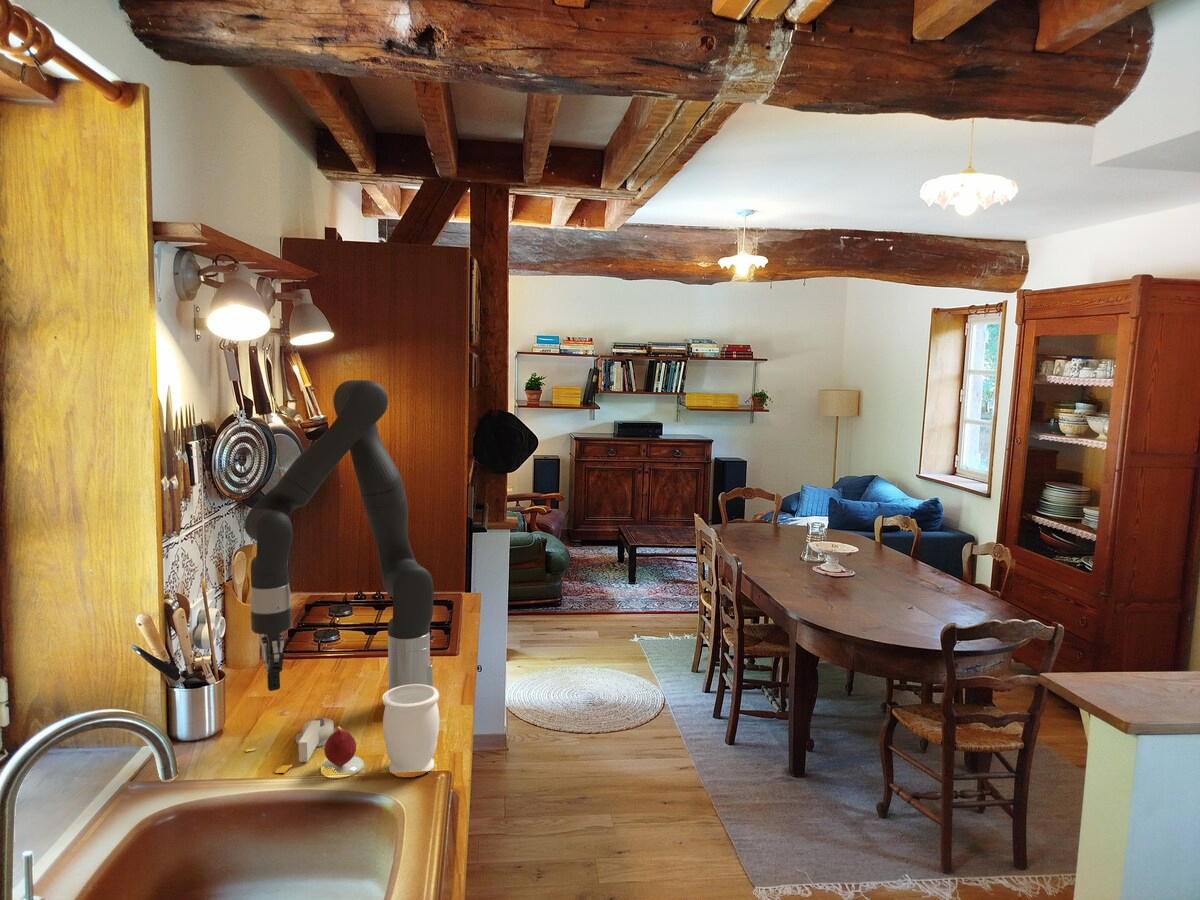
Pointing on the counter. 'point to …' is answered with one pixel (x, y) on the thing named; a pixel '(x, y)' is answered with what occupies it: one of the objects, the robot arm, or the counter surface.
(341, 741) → the onion
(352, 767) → the coaster
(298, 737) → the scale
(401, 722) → the jar
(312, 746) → the handle
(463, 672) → the counter surface
